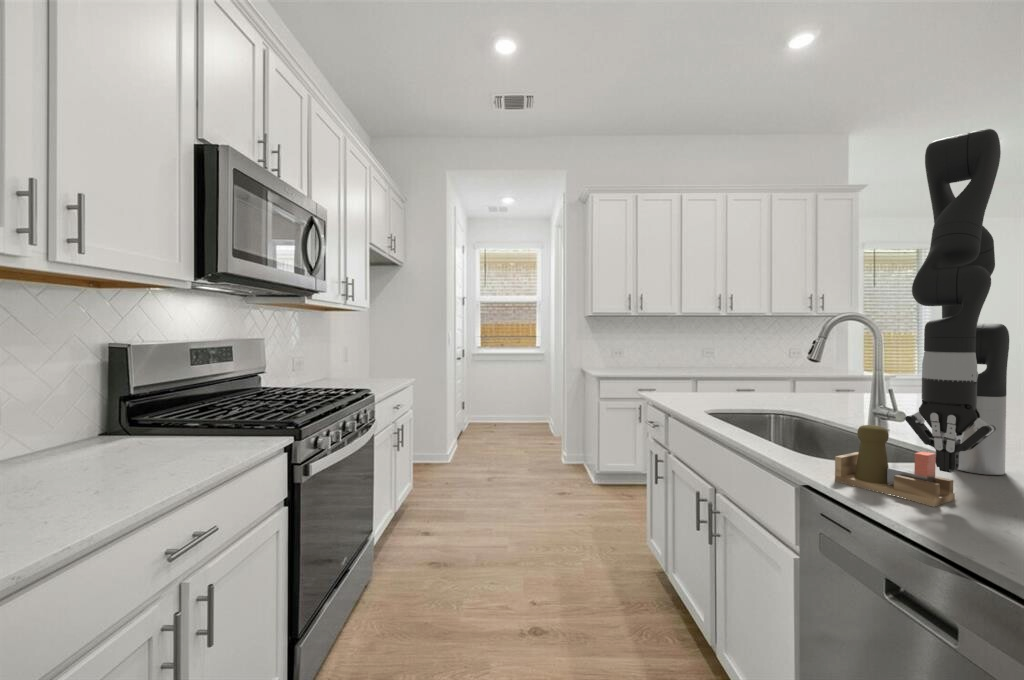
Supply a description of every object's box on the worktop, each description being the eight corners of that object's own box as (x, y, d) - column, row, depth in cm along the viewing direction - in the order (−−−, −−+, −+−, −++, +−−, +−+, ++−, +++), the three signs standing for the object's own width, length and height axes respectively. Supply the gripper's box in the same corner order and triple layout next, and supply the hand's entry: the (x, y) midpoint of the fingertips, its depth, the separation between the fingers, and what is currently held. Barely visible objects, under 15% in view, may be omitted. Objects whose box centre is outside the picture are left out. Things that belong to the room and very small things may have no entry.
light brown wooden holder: (856, 475, 107) (856, 452, 107) (954, 499, 92) (955, 472, 91) (834, 480, 103) (835, 456, 103) (933, 506, 88) (934, 478, 88)
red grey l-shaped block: (895, 481, 98) (895, 446, 98) (935, 490, 92) (935, 453, 92) (887, 483, 97) (887, 448, 96) (927, 493, 91) (927, 455, 91)
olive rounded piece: (897, 484, 97) (898, 429, 97) (863, 482, 98) (864, 428, 98) (880, 475, 103) (881, 423, 102) (848, 474, 104) (849, 422, 104)
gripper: (895, 374, 93) (894, 465, 93) (987, 381, 81) (985, 484, 82) (916, 373, 97) (914, 460, 97) (1006, 379, 85) (1004, 478, 85)
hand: (947, 471), depth 89 cm, fingers closed
